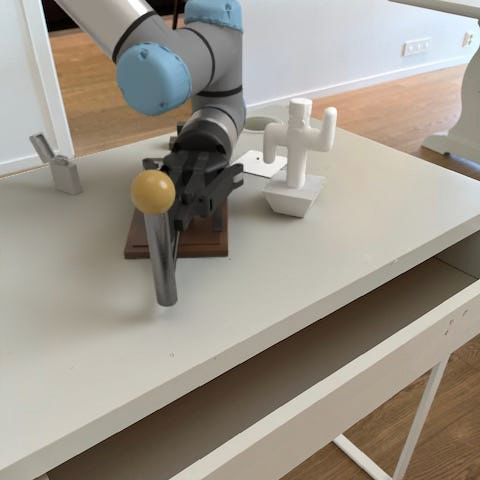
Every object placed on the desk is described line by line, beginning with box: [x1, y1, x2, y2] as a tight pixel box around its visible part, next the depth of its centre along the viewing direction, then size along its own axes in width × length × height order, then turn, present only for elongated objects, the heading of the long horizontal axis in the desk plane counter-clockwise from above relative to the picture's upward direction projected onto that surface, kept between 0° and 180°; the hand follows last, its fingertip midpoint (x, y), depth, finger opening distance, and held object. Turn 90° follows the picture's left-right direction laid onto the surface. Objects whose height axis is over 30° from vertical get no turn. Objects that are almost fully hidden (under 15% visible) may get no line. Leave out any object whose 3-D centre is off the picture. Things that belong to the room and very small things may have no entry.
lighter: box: [28, 131, 83, 196], centre depth 76 cm, size 7×2×8 cm, turn 59°
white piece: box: [229, 149, 287, 179], centre depth 84 cm, size 8×8×1 cm
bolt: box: [130, 170, 180, 308], centre depth 64 cm, size 42×4×15 cm, turn 1°
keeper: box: [168, 120, 188, 151], centre depth 89 cm, size 3×7×4 cm, turn 91°
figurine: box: [261, 97, 338, 219], centre depth 68 cm, size 7×9×15 cm
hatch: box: [123, 157, 229, 259], centre depth 73 cm, size 28×13×4 cm, turn 1°
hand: (158, 241), depth 51 cm, fingers closed
